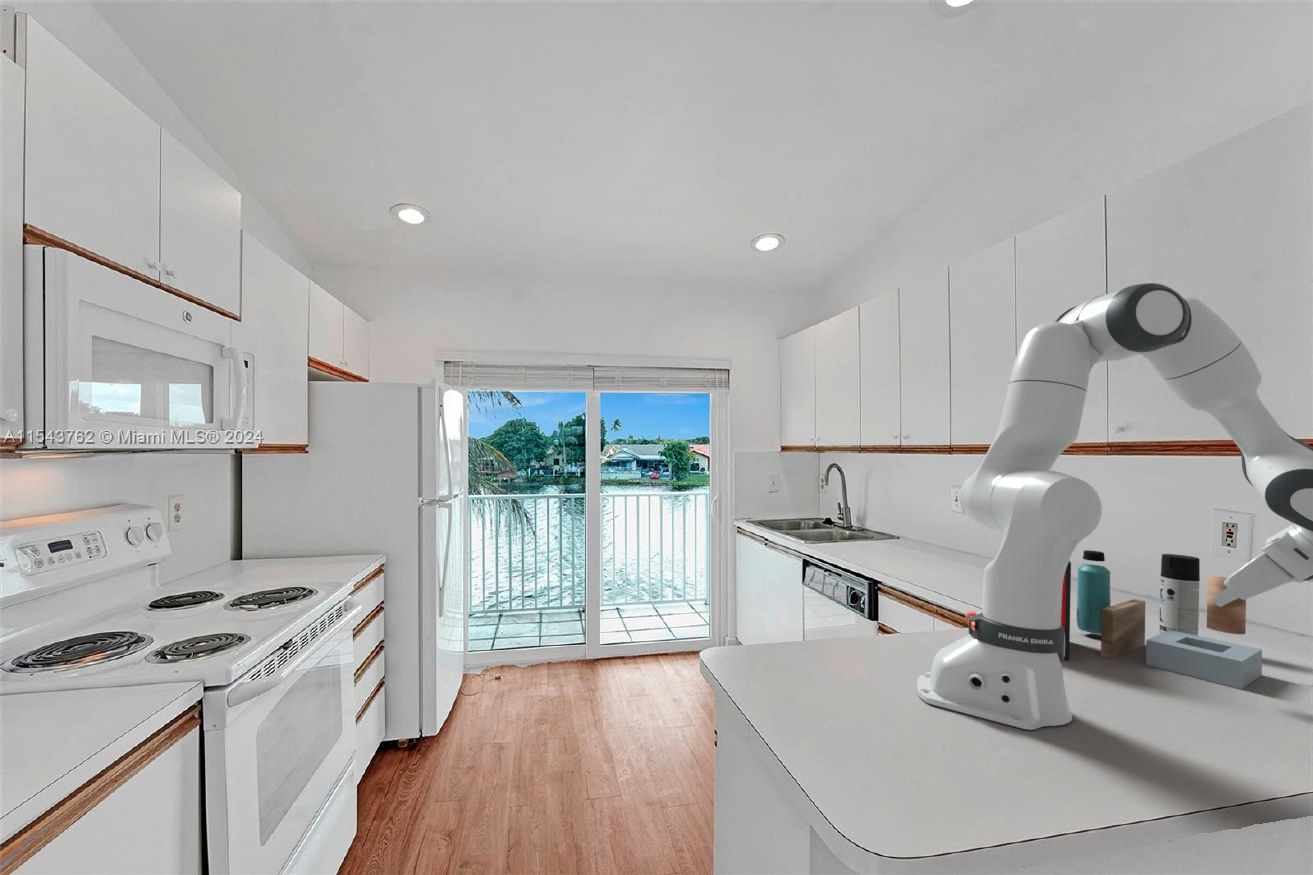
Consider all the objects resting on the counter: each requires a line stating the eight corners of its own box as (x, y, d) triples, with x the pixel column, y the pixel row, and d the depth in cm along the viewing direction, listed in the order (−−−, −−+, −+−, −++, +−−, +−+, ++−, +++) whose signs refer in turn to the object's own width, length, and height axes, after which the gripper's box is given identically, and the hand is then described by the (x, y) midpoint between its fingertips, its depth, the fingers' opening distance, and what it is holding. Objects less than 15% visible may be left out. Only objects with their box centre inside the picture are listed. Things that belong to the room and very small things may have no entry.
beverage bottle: (1116, 642, 135) (1118, 554, 135) (1084, 639, 136) (1085, 552, 136) (1101, 633, 141) (1102, 549, 142) (1070, 631, 142) (1071, 547, 143)
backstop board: (1144, 646, 133) (1145, 601, 133) (1112, 659, 123) (1113, 611, 123) (1133, 643, 134) (1134, 599, 134) (1100, 656, 124) (1101, 608, 124)
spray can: (1161, 637, 140) (1162, 552, 140) (1200, 644, 135) (1201, 556, 135) (1157, 642, 135) (1158, 555, 136) (1196, 650, 130) (1198, 559, 131)
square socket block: (1261, 675, 116) (1262, 649, 116) (1241, 689, 108) (1241, 661, 108) (1170, 653, 127) (1170, 630, 127) (1146, 664, 120) (1146, 639, 120)
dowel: (1213, 631, 105) (1213, 580, 105) (1202, 624, 109) (1203, 575, 109) (1250, 636, 102) (1251, 583, 103) (1238, 628, 107) (1239, 578, 107)
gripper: (1297, 537, 106) (1222, 580, 114) (1267, 543, 95) (1186, 591, 103) (1334, 567, 102) (1254, 609, 110) (1308, 576, 91) (1221, 623, 99)
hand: (1221, 600), depth 106 cm, fingers closed on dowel, 5 cm apart
